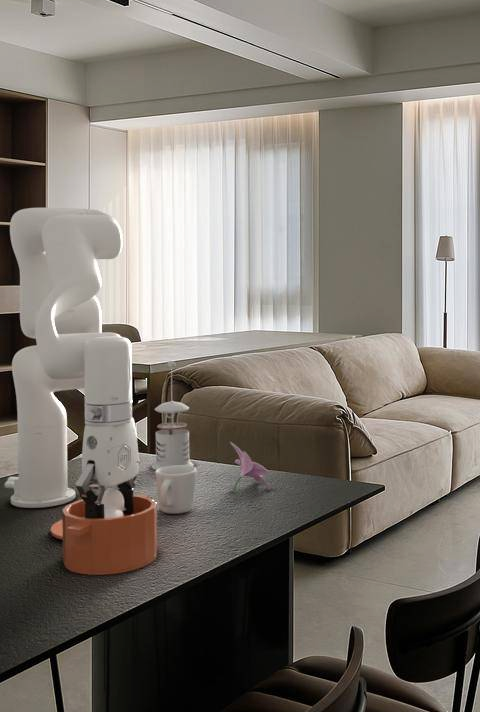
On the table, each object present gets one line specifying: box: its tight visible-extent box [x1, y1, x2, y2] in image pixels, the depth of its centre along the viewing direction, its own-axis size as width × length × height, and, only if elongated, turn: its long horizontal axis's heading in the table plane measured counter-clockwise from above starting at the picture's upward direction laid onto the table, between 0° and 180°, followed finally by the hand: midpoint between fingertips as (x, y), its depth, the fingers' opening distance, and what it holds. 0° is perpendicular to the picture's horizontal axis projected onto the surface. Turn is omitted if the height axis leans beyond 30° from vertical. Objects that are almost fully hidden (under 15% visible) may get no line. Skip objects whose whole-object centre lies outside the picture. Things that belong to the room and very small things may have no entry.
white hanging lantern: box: [151, 360, 194, 471], centre depth 204 cm, size 10×12×25 cm
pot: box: [61, 494, 158, 576], centre depth 139 cm, size 15×20×8 cm
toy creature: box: [101, 487, 126, 518], centre depth 139 cm, size 5×8×6 cm, turn 0°
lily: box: [229, 441, 271, 493], centre depth 181 cm, size 12×12×10 cm
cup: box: [154, 465, 198, 515], centre depth 165 cm, size 11×8×8 cm
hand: (110, 520), depth 139 cm, fingers closed on toy creature, 7 cm apart
